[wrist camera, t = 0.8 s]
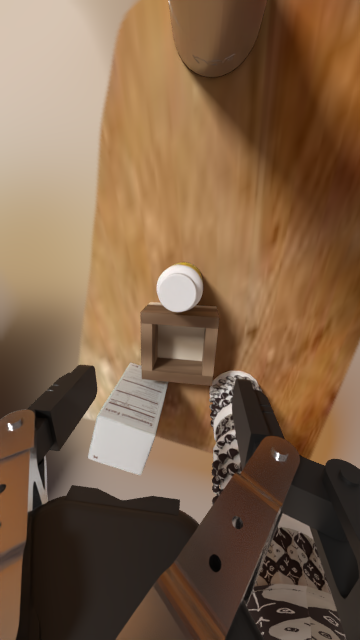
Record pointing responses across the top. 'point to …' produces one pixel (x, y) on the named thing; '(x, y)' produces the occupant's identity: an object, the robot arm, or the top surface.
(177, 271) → the supplement bottle
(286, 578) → the decorative candle
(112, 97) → the top surface
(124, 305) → the top surface
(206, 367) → the socket block
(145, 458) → the supplement box
